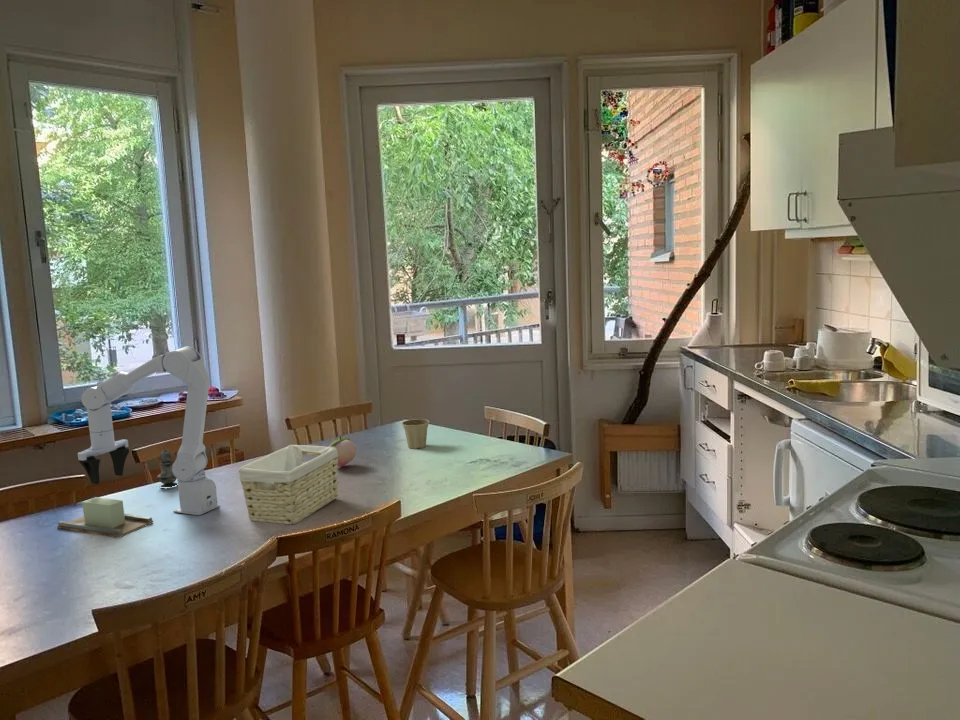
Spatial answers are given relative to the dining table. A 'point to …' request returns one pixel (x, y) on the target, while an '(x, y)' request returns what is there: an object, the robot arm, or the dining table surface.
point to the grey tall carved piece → (166, 470)
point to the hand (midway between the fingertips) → (107, 479)
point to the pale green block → (103, 512)
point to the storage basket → (290, 483)
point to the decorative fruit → (344, 450)
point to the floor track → (130, 525)
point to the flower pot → (416, 432)
